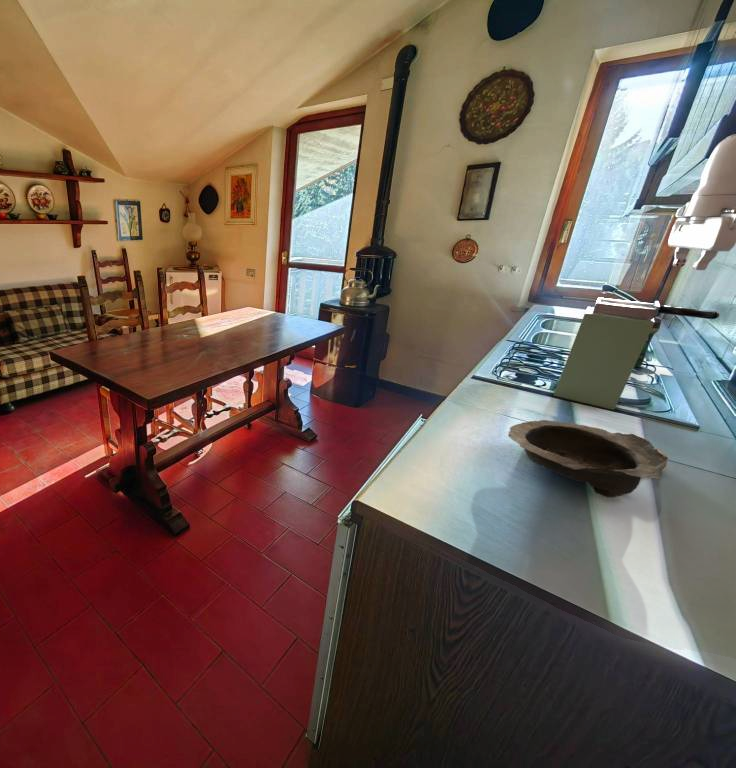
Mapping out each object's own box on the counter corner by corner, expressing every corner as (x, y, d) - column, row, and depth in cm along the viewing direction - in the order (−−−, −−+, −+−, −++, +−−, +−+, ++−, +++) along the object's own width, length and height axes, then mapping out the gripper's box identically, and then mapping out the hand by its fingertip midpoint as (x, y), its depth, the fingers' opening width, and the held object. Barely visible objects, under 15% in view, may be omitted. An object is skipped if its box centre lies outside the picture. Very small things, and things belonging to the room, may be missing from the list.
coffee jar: (607, 363, 148) (627, 315, 141) (606, 357, 154) (626, 311, 146) (642, 369, 143) (666, 319, 135) (640, 363, 148) (662, 315, 141)
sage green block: (614, 397, 120) (652, 314, 110) (614, 410, 112) (654, 322, 102) (557, 384, 129) (587, 306, 118) (553, 395, 121) (584, 313, 110)
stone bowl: (684, 522, 70) (705, 480, 67) (519, 498, 79) (530, 459, 75) (614, 449, 91) (627, 415, 88) (490, 437, 100) (497, 404, 97)
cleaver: (711, 321, 102) (718, 307, 101) (717, 328, 95) (725, 313, 94) (594, 307, 117) (599, 295, 115) (592, 312, 110) (597, 299, 109)
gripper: (763, 207, 84) (732, 273, 90) (706, 209, 101) (682, 264, 107) (722, 208, 87) (694, 271, 92) (673, 209, 104) (652, 263, 109)
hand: (687, 267), depth 100 cm, fingers open, 8 cm apart
